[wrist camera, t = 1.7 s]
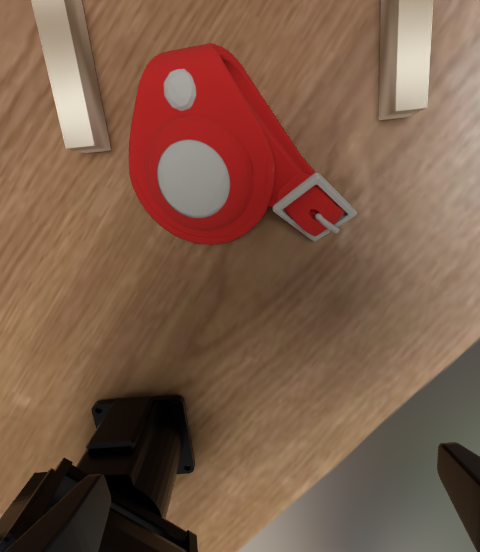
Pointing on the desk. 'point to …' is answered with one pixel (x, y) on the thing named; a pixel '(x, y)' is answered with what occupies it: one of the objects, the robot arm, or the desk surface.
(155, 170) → the tracker holder
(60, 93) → the frame
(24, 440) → the desk surface
